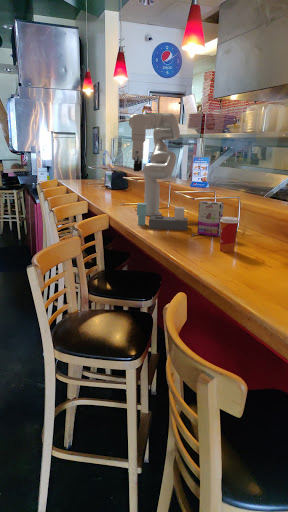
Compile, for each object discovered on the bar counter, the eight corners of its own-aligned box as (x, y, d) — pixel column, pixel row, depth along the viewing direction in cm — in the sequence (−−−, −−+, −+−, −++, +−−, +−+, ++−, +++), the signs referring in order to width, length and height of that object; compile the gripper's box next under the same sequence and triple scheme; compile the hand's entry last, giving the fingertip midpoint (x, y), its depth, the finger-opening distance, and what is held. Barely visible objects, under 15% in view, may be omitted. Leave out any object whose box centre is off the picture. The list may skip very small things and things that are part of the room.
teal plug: (137, 223, 206) (138, 202, 203) (146, 223, 205) (147, 203, 202) (136, 225, 201) (137, 204, 198) (145, 225, 201) (146, 204, 197)
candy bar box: (221, 235, 183) (224, 202, 178) (218, 237, 178) (221, 203, 174) (200, 232, 188) (202, 200, 183) (196, 234, 183) (198, 201, 179)
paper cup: (222, 247, 160) (225, 215, 156) (239, 250, 155) (242, 218, 151) (213, 251, 154) (216, 218, 150) (230, 254, 149) (233, 220, 145)
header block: (150, 224, 203) (151, 205, 199) (187, 226, 200) (188, 206, 197) (148, 228, 193) (149, 207, 190) (187, 230, 191) (188, 209, 188)
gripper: (133, 138, 208) (133, 169, 213) (129, 137, 191) (128, 171, 196) (147, 139, 207) (146, 170, 212) (143, 138, 191) (142, 172, 195)
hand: (137, 170), depth 204 cm, fingers open, 9 cm apart
